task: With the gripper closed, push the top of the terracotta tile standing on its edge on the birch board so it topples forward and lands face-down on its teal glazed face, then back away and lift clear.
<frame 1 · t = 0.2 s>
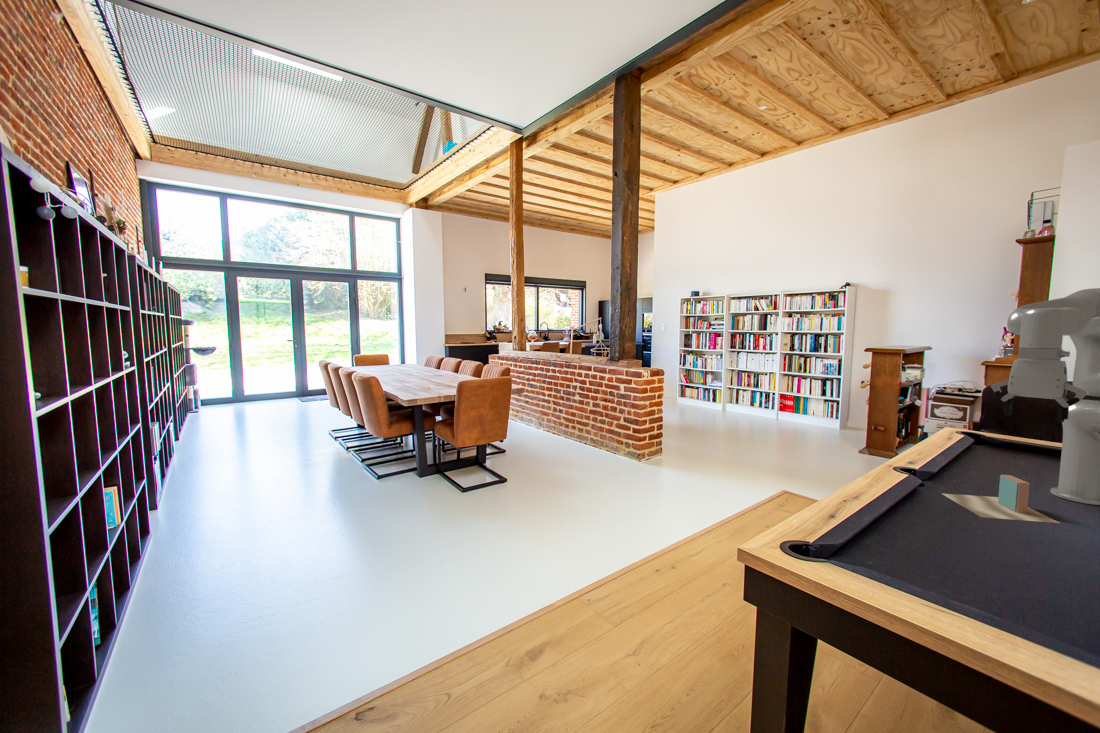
hand: (1033, 418, 116), 30 cm above the table, fingers open, 9 cm apart
board: (995, 510, 130), on the table
tile: (1012, 508, 128), point 1 cm above the table, touching board
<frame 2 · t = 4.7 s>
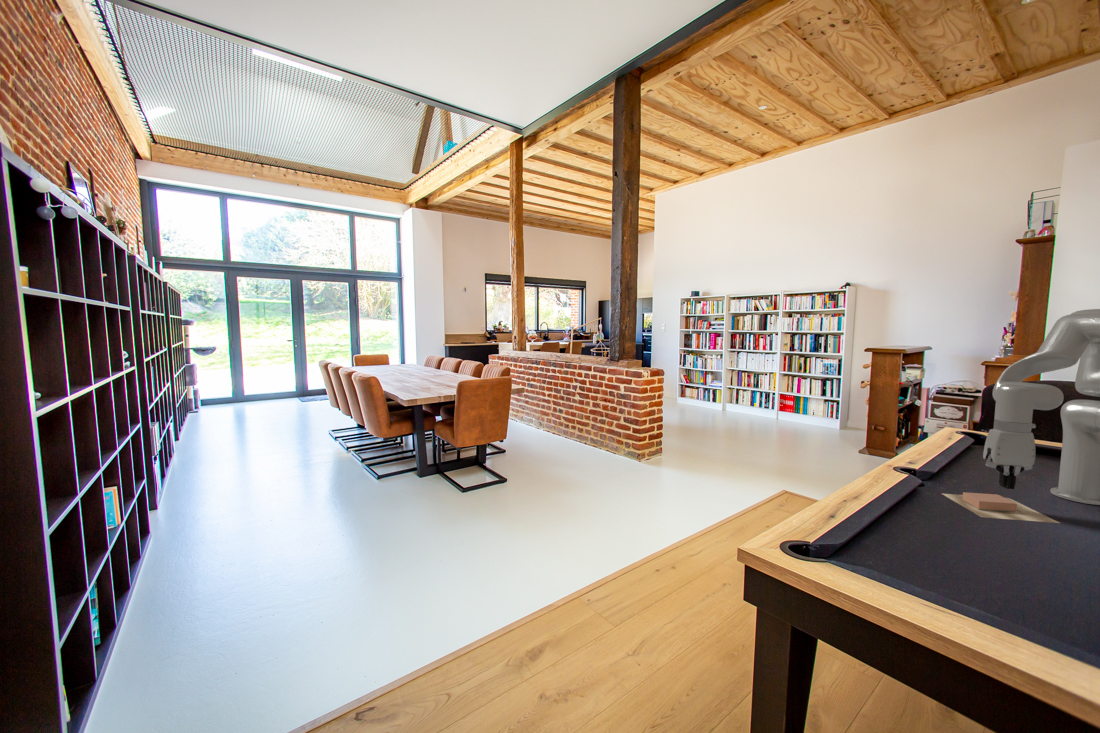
hand: (1006, 487, 128), 7 cm above the table, fingers closed
tile: (1007, 502, 129), point 2 cm above the table, tilted 90°, touching board
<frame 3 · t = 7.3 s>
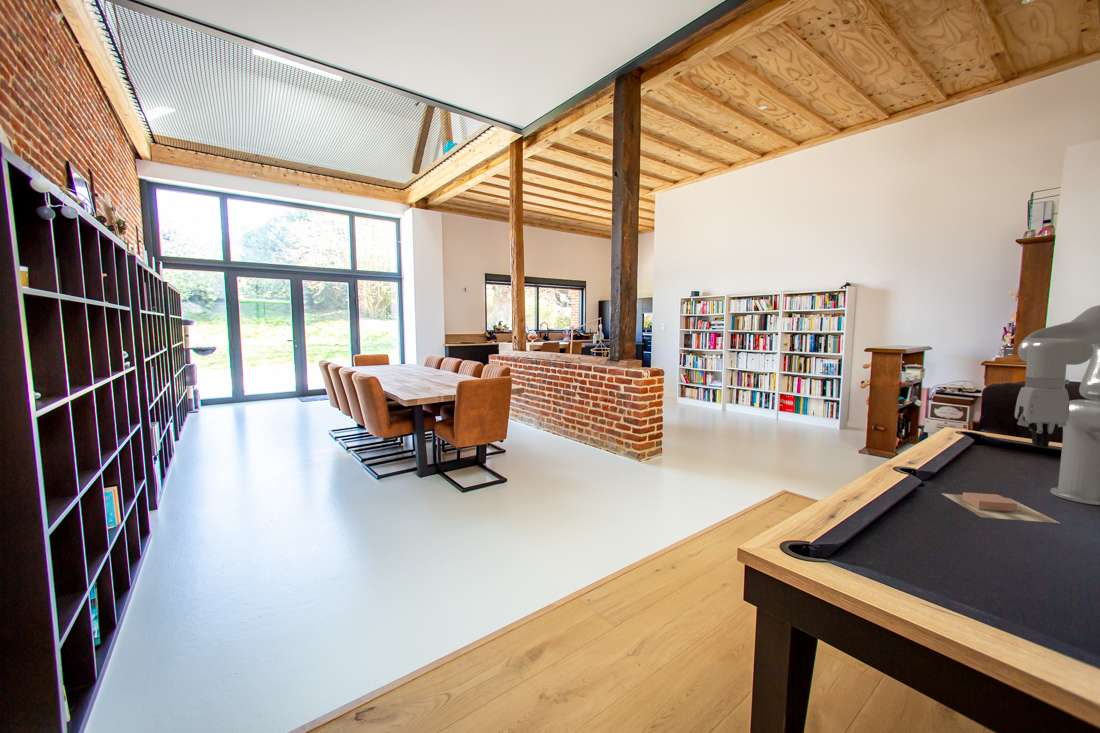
hand: (1040, 445, 126), 20 cm above the table, fingers closed
nothing on the table moved.
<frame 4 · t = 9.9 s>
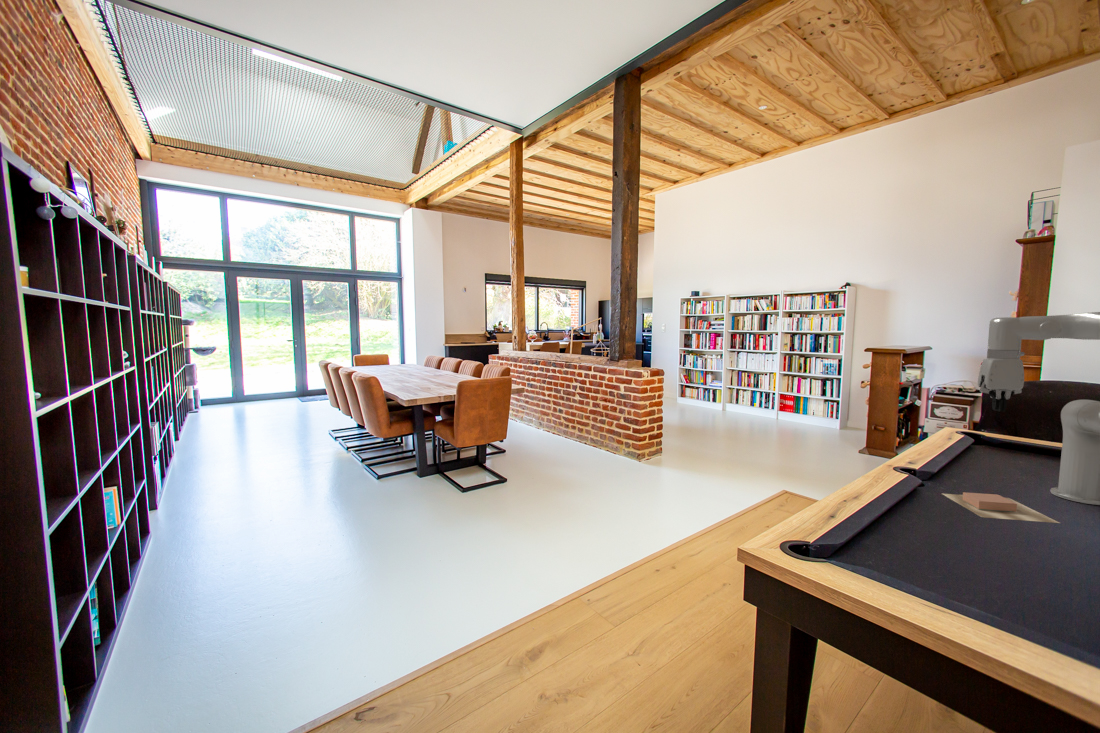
hand: (998, 410, 143), 27 cm above the table, fingers closed
nothing on the table moved.
at the end: tile tilted 90°; tile inside the target area (5.4 cm from its centre), point 2.5 cm above the table; the gripper is holding nothing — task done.
